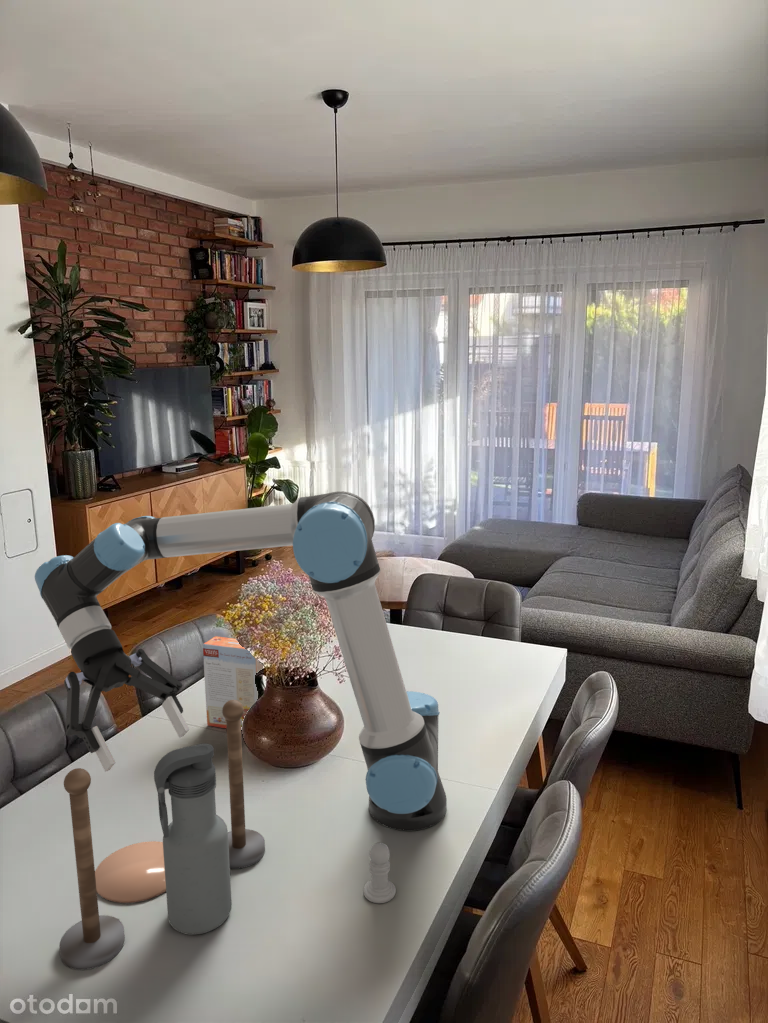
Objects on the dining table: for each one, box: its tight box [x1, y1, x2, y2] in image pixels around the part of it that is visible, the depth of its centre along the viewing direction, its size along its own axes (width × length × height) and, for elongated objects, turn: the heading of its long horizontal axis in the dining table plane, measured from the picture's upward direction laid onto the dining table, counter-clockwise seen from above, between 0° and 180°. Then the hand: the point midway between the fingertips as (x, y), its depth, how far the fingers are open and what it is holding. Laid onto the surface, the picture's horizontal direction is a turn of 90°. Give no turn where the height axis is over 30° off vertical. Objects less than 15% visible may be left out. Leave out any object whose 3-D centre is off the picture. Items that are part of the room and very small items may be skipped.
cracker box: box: [202, 635, 263, 729], centre depth 179 cm, size 14×6×21 cm, turn 71°
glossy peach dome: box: [95, 840, 166, 904], centre depth 129 cm, size 15×15×1 cm
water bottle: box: [153, 743, 233, 936], centre depth 116 cm, size 10×10×28 cm
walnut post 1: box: [59, 767, 126, 971], centre depth 110 cm, size 9×9×29 cm
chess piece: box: [362, 842, 397, 904], centre depth 123 cm, size 5×5×9 cm
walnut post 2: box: [222, 700, 266, 870], centre depth 131 cm, size 9×9×29 cm
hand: (149, 750), depth 121 cm, fingers open, 13 cm apart
